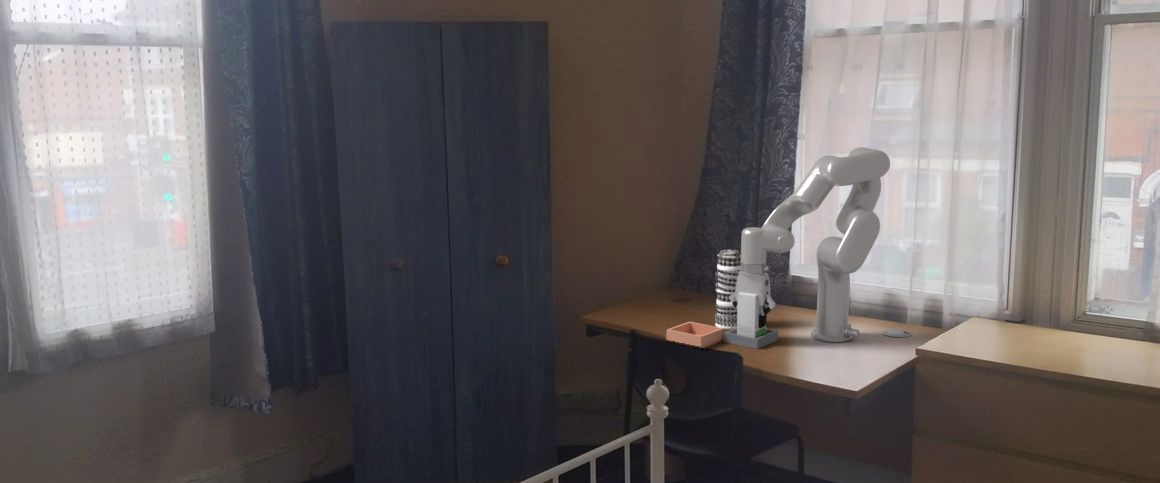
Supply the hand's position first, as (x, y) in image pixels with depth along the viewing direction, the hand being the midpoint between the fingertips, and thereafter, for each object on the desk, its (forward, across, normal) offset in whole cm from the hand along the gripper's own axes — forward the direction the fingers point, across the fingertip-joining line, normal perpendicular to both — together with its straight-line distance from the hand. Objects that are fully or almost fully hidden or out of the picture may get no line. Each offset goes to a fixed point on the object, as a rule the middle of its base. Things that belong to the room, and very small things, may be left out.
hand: (751, 324), depth 284 cm
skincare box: (+5, 0, 0) cm, 5 cm away
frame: (+5, 0, 0) cm, 5 cm away
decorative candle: (+5, +15, -11) cm, 19 cm away
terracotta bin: (+5, +13, +12) cm, 18 cm away
